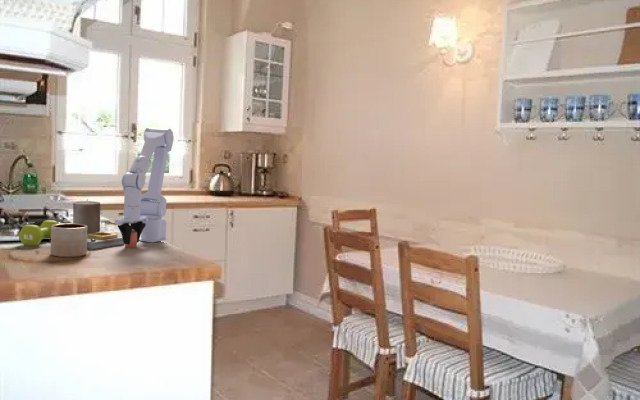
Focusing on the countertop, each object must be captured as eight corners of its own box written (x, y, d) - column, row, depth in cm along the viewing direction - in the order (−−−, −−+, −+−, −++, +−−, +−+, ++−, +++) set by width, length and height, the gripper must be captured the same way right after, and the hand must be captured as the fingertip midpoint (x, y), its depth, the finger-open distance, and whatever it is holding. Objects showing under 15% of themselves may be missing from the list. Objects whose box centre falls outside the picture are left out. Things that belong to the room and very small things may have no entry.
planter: (93, 253, 185) (93, 224, 184) (75, 259, 174) (76, 229, 173) (62, 250, 186) (63, 222, 185) (43, 256, 175) (43, 226, 174)
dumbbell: (42, 238, 205) (42, 219, 204) (63, 239, 204) (63, 220, 204) (16, 245, 188) (16, 225, 188) (38, 247, 188) (39, 226, 187)
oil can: (130, 245, 202) (131, 228, 201) (139, 247, 200) (139, 229, 199) (122, 247, 198) (123, 229, 197) (131, 248, 196) (131, 231, 196)
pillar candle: (103, 236, 215) (104, 198, 214) (94, 240, 206) (95, 200, 204) (78, 235, 215) (78, 197, 213) (68, 239, 205) (68, 199, 204)
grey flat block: (101, 240, 208) (102, 230, 207) (124, 244, 203) (124, 234, 203) (62, 246, 191) (62, 236, 191) (85, 250, 187) (86, 240, 187)
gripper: (138, 203, 206) (136, 239, 207) (108, 206, 192) (107, 244, 194) (152, 205, 203) (151, 241, 204) (124, 208, 190) (122, 246, 191)
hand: (131, 243), depth 199 cm, fingers closed on oil can, 4 cm apart
